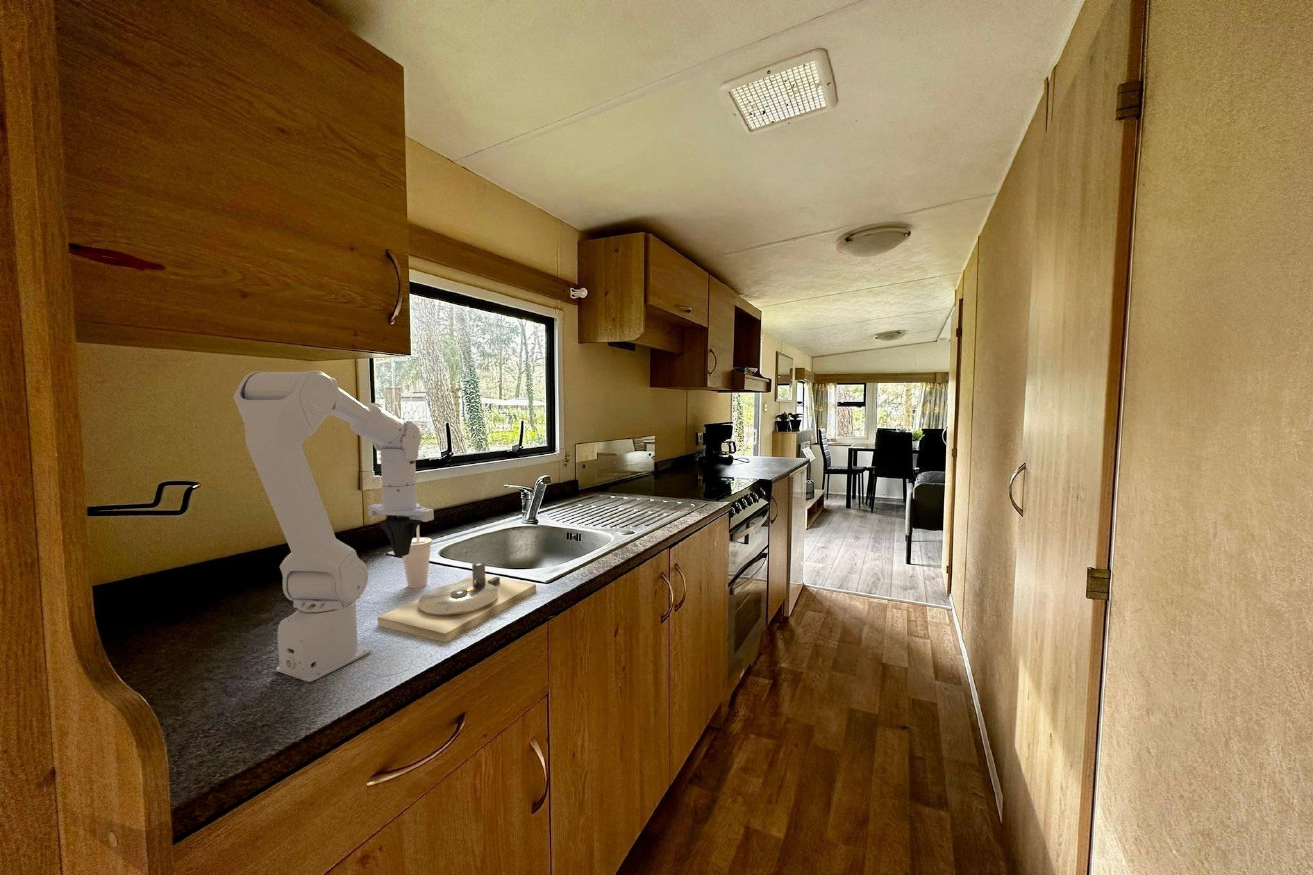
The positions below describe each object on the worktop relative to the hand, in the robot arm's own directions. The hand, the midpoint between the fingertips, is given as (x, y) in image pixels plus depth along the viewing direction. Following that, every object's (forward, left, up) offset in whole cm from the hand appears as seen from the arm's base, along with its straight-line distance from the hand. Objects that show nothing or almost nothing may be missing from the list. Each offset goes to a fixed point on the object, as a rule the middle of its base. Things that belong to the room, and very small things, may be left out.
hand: (402, 555), depth 94 cm
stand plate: (+4, -10, -10) cm, 15 cm away
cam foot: (+4, -10, -9) cm, 14 cm away
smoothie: (+10, +8, -11) cm, 17 cm away
